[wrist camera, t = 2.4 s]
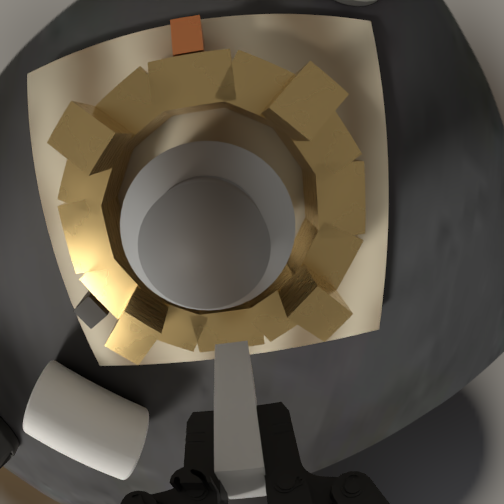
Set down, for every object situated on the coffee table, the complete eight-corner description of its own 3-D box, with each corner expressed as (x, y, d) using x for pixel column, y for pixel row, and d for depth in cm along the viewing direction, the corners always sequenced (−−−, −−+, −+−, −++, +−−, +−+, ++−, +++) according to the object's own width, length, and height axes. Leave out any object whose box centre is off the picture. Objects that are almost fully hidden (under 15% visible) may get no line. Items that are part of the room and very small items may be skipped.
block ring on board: (106, 350, 22) (71, 438, 13) (42, 77, 14) (-50, 59, 5) (368, 315, 23) (426, 395, 14) (358, 29, 15) (440, -21, 6)
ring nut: (119, 334, 19) (98, 385, 14) (63, 70, 12) (15, 54, 8) (345, 305, 19) (376, 350, 15) (328, 28, 13) (365, -5, 8)
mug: (59, 343, 22) (22, 405, 14) (155, 394, 24) (142, 465, 17) (45, 405, 24) (22, 455, 17) (119, 443, 27) (108, 497, 20)
